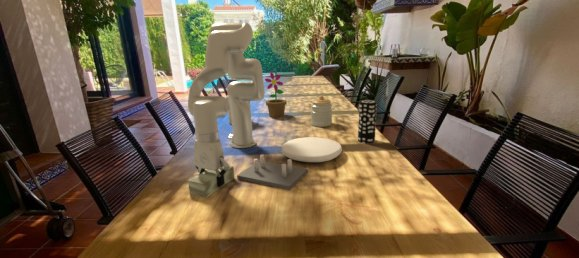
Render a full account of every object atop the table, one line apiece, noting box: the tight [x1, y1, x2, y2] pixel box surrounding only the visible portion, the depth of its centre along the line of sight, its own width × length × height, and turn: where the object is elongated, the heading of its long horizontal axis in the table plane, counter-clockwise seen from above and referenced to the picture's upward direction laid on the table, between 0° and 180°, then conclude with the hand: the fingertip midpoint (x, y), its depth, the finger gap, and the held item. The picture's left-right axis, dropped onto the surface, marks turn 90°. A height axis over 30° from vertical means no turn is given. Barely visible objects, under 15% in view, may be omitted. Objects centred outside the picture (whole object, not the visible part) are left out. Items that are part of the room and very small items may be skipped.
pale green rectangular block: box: [187, 164, 235, 198], centre depth 109 cm, size 16×7×5 cm, turn 153°
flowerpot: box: [264, 72, 288, 119], centre depth 203 cm, size 14×14×30 cm
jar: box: [310, 95, 333, 128], centre depth 182 cm, size 13×13×18 cm
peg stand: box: [236, 154, 309, 191], centre depth 115 cm, size 22×16×6 cm
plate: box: [281, 136, 343, 163], centre depth 135 cm, size 28×6×27 cm
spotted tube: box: [357, 99, 378, 144], centre depth 149 cm, size 8×8×20 cm
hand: (212, 183), depth 109 cm, fingers closed on pale green rectangular block, 7 cm apart
